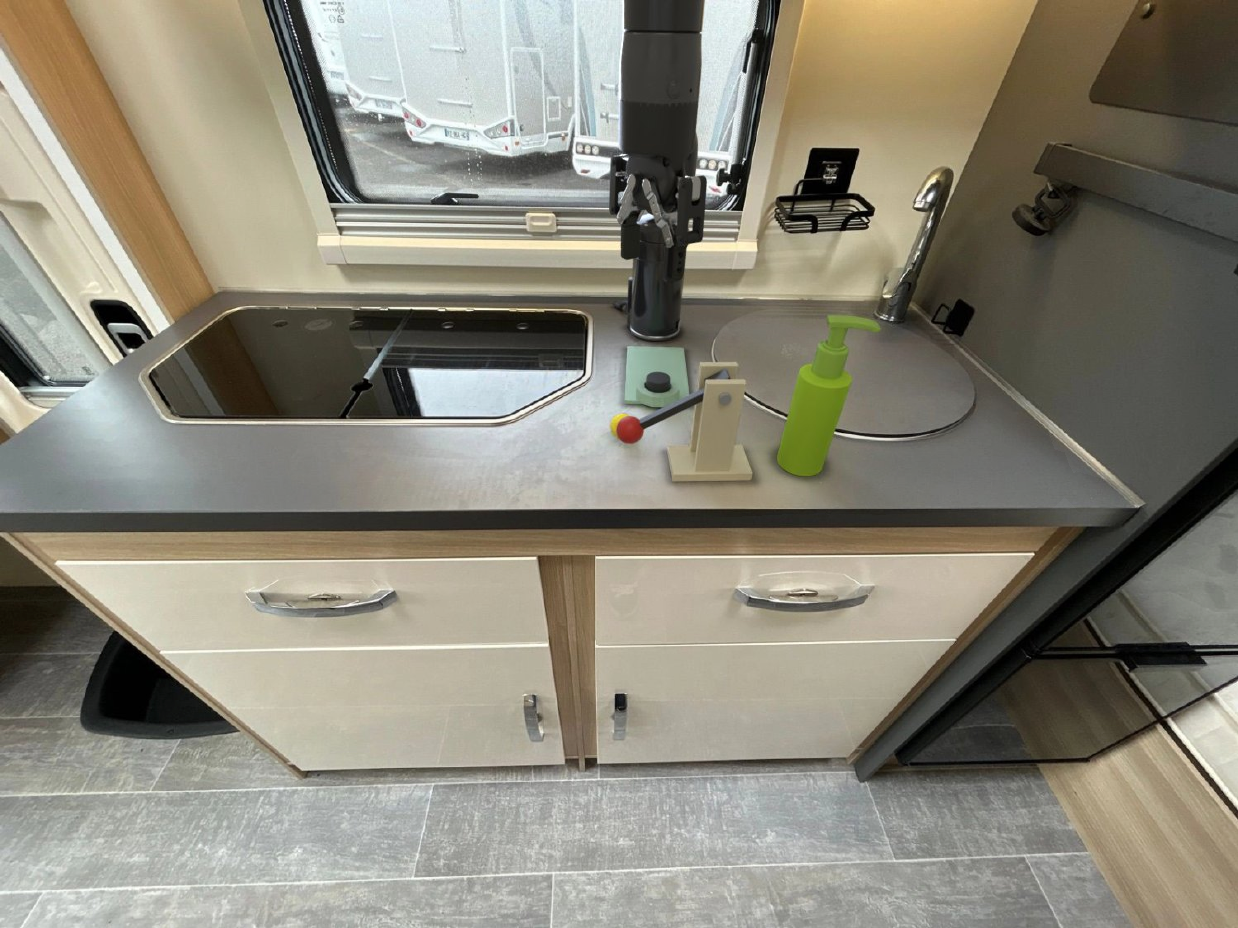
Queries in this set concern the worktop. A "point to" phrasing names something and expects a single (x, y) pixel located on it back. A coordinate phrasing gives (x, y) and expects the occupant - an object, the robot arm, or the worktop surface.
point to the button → (658, 382)
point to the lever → (661, 413)
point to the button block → (655, 361)
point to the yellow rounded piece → (615, 422)
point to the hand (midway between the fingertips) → (650, 269)
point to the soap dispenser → (819, 400)
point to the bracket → (713, 431)
